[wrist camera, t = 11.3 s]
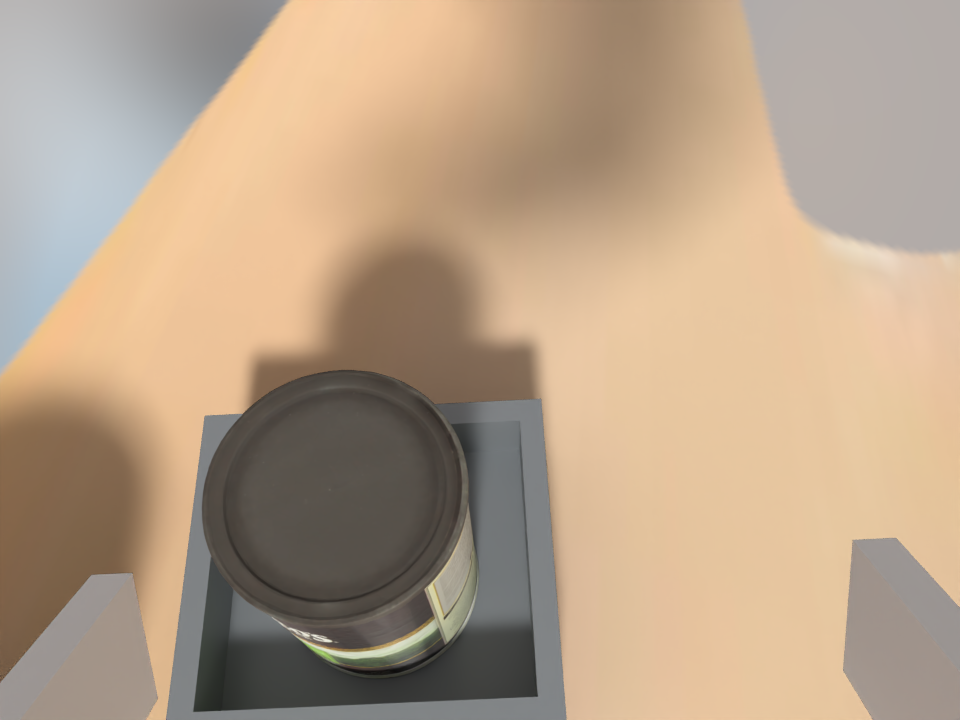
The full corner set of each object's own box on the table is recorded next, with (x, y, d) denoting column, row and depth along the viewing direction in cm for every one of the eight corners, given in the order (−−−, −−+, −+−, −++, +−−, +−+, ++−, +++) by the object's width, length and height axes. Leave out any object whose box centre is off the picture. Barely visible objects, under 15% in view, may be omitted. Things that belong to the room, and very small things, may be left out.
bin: (538, 449, 52) (541, 398, 45) (559, 737, 44) (567, 724, 38) (241, 463, 52) (204, 415, 46) (212, 753, 44) (163, 742, 38)
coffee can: (373, 726, 42) (312, 689, 29) (248, 575, 46) (148, 485, 33) (522, 579, 45) (524, 489, 32) (394, 449, 49) (352, 323, 36)
